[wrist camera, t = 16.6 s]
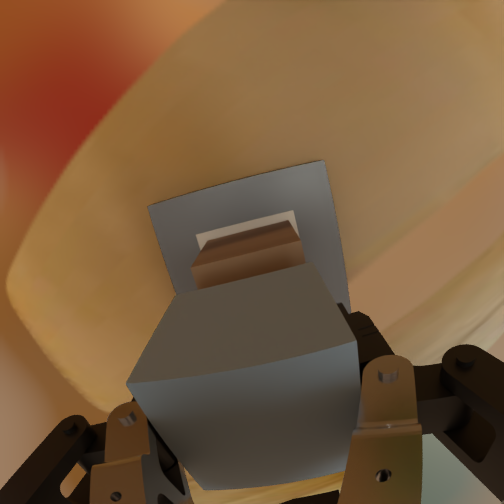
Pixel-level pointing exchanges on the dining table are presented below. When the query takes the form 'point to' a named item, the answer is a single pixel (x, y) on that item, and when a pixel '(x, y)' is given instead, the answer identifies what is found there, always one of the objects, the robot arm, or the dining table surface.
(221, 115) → the dining table surface
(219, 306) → the blue block
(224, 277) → the walnut block
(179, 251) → the plate
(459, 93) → the dining table surface
